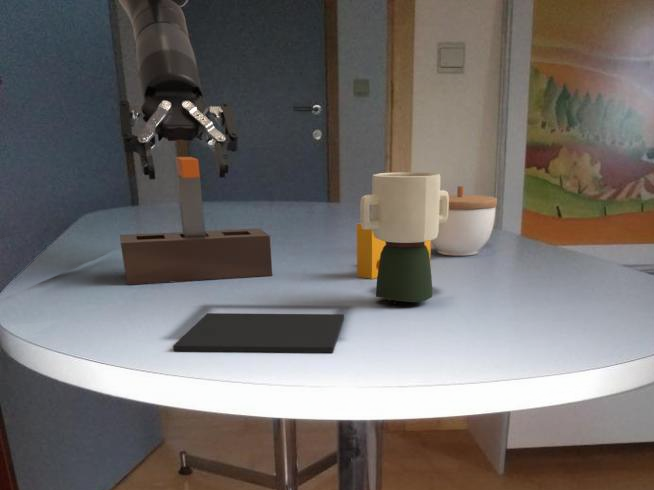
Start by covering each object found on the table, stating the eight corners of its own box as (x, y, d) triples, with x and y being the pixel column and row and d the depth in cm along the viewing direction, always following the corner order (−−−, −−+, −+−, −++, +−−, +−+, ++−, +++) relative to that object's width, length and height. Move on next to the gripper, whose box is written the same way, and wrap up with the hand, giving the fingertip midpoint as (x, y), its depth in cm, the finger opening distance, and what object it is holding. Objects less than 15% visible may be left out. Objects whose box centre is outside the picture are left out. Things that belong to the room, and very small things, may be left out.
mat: (173, 351, 63) (172, 345, 63) (207, 318, 73) (207, 313, 73) (333, 352, 62) (332, 347, 62) (344, 319, 73) (344, 314, 73)
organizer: (125, 274, 95) (119, 234, 93) (261, 266, 100) (259, 228, 98) (127, 285, 89) (120, 242, 87) (272, 275, 94) (270, 235, 91)
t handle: (185, 270, 97) (172, 157, 91) (204, 269, 98) (193, 156, 92) (191, 281, 91) (178, 159, 84) (212, 280, 91) (200, 159, 85)
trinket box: (508, 254, 108) (513, 186, 104) (452, 260, 103) (455, 190, 99) (462, 245, 116) (466, 182, 112) (408, 251, 111) (409, 185, 107)
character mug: (425, 290, 85) (429, 170, 79) (463, 302, 79) (470, 173, 73) (345, 301, 80) (342, 174, 74) (379, 314, 74) (379, 178, 69)
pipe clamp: (405, 262, 102) (406, 214, 99) (430, 266, 99) (431, 216, 96) (347, 274, 94) (346, 222, 91) (371, 278, 91) (372, 225, 88)
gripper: (108, 46, 88) (125, 152, 83) (224, 48, 92) (247, 150, 87) (114, 96, 95) (130, 197, 90) (222, 97, 99) (243, 193, 94)
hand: (187, 173), depth 89 cm, fingers open, 8 cm apart
